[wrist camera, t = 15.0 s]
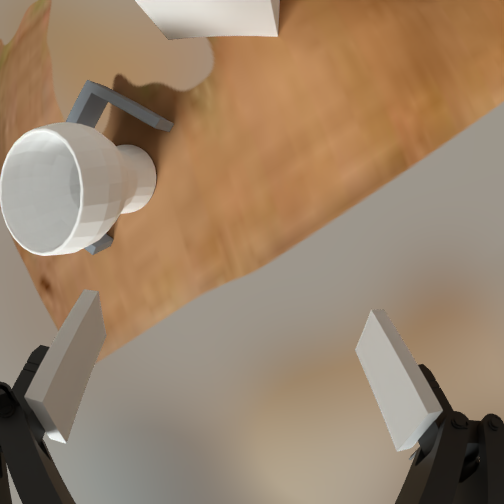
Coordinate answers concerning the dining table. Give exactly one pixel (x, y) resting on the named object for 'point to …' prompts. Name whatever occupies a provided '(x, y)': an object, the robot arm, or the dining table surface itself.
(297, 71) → the dining table surface
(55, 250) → the cup
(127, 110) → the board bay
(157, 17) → the milk
